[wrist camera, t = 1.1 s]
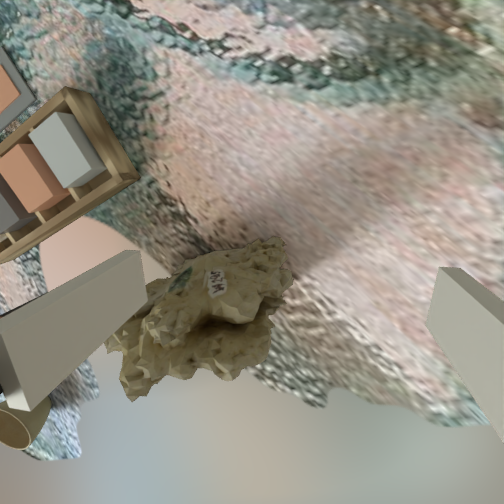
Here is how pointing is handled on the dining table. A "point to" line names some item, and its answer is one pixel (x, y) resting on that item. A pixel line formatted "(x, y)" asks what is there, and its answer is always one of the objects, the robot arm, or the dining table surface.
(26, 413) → the flower pot
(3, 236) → the cream rectangular block
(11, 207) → the grey rectangular block
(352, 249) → the dining table surface
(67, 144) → the key bluegrey
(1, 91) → the card
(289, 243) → the dining table surface
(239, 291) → the coral
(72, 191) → the wooden compartment tray
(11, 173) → the key terracotta
